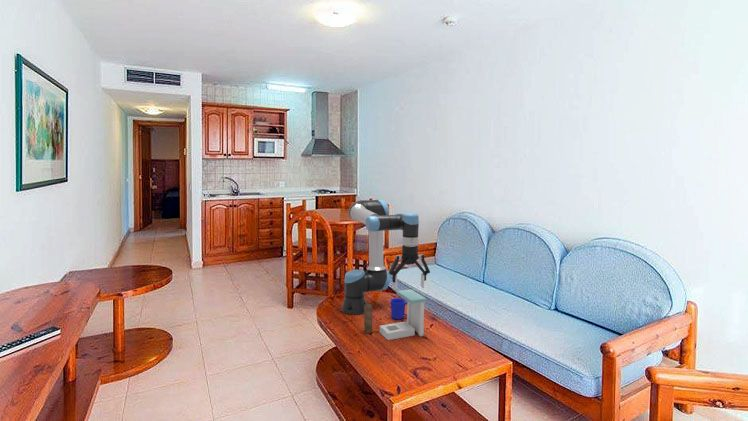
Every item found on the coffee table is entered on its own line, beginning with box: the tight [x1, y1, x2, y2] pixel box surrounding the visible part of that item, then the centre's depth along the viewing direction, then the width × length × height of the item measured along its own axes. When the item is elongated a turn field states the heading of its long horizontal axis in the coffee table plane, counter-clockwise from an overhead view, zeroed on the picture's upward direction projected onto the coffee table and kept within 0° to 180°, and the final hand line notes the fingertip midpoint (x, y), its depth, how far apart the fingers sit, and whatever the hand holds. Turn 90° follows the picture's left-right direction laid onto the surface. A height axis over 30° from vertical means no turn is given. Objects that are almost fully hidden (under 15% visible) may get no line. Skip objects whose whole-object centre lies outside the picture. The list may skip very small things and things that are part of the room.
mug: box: [390, 297, 407, 320], centre depth 223 cm, size 8×12×10 cm
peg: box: [363, 303, 373, 334], centre depth 205 cm, size 4×4×14 cm
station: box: [379, 288, 427, 341], centre depth 203 cm, size 16×20×20 cm
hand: (409, 288), depth 194 cm, fingers open, 13 cm apart
